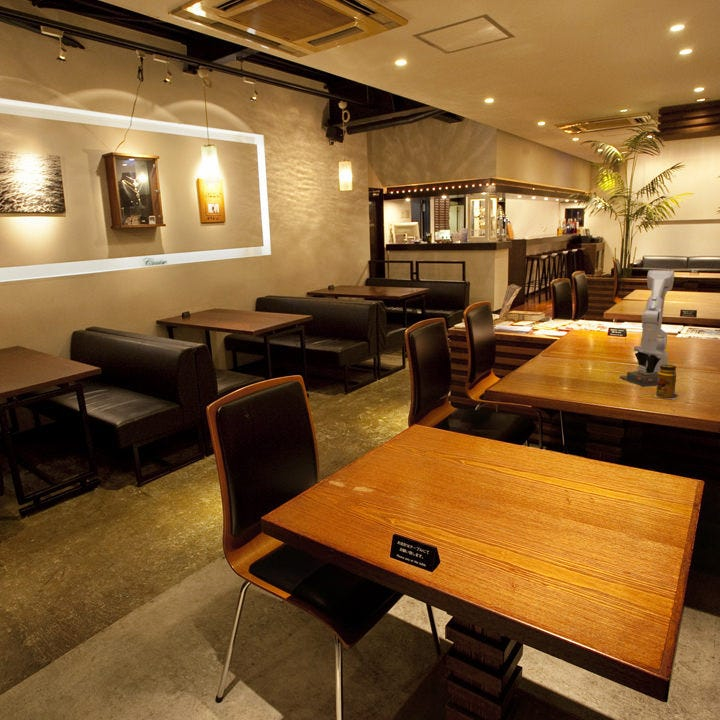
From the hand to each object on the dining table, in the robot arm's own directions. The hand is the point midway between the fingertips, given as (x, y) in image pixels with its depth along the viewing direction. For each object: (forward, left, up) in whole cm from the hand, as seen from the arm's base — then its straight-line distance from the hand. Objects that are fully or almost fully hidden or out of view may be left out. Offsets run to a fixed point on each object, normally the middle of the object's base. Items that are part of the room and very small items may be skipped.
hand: (646, 371), depth 227 cm
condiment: (+7, +19, -4) cm, 21 cm away
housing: (0, 0, -4) cm, 4 cm away
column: (0, 0, -4) cm, 4 cm away
